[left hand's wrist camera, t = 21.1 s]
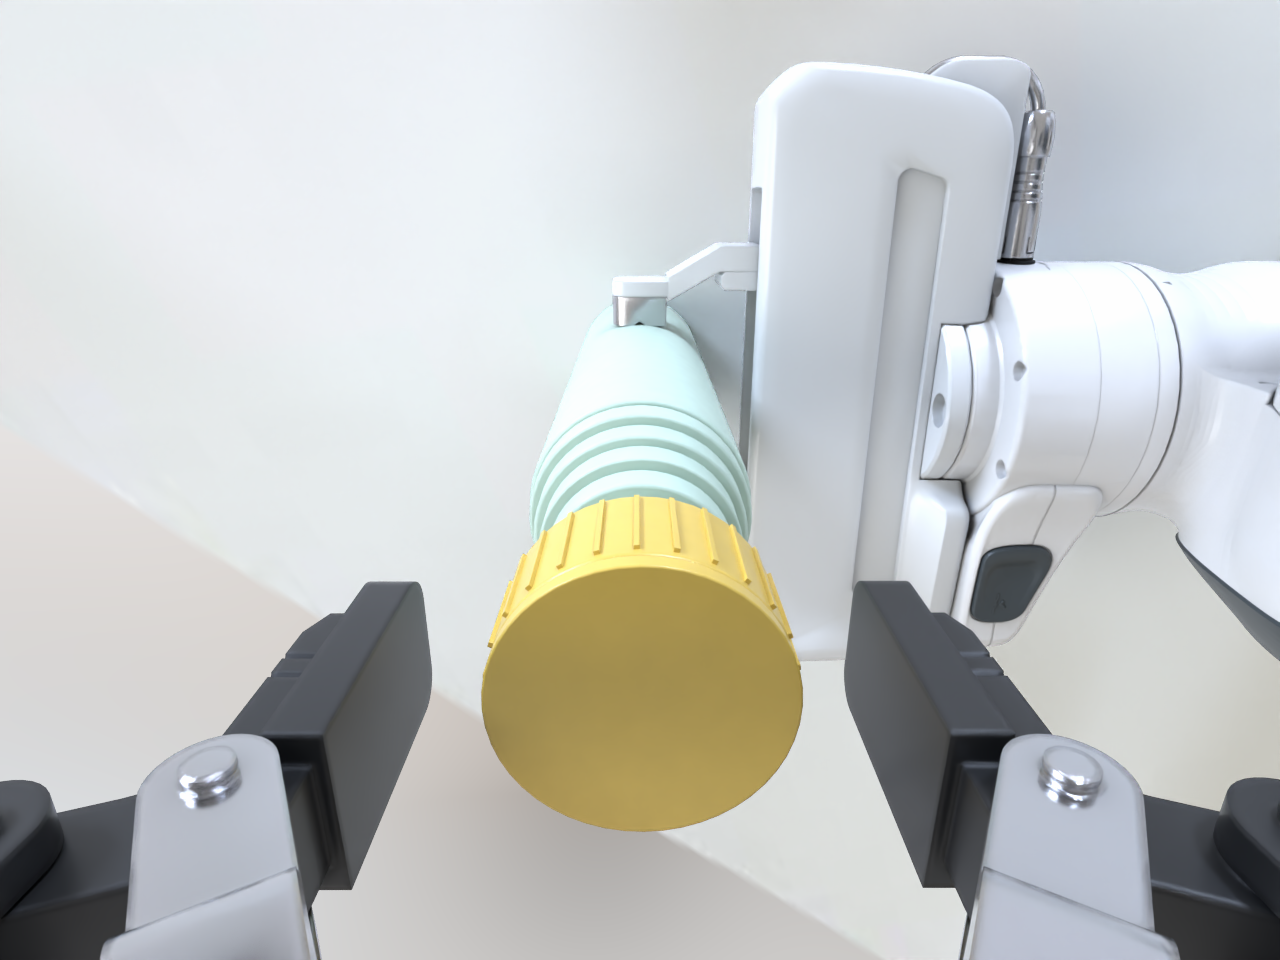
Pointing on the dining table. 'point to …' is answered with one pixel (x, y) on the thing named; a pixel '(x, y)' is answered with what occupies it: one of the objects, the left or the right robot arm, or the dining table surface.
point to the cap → (641, 668)
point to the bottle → (640, 429)
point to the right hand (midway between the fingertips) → (614, 392)
